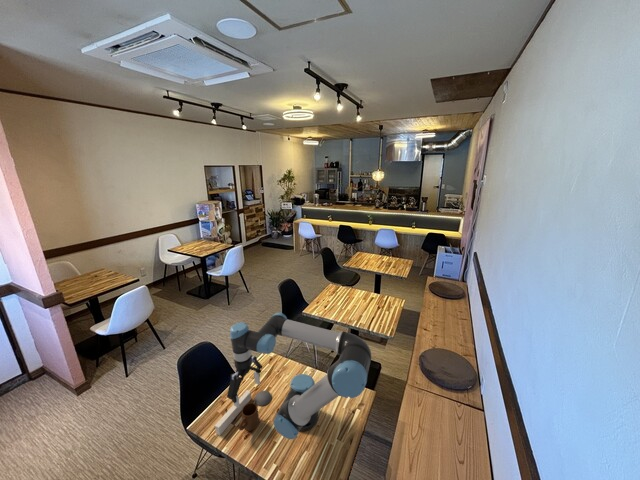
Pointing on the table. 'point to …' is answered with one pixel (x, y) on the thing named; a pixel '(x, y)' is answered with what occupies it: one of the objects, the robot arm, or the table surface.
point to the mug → (249, 417)
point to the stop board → (232, 413)
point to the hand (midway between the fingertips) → (247, 394)
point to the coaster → (262, 398)
